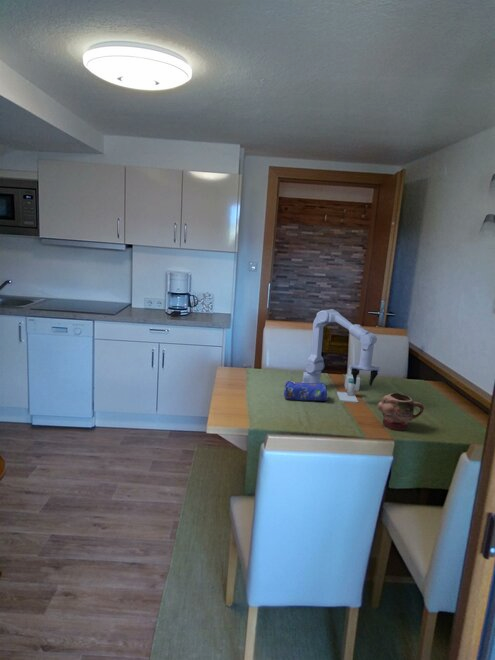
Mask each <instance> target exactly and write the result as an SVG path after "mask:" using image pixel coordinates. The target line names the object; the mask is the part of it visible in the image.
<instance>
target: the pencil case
mask: <svg viewBox="0 0 495 660" xmlns="http://www.w3.org/2000/svg"><path fill="white" fill-rule="evenodd" d="M283 397H285V398H286V399H285V398H284V399H285V400H292V399H293V400H294V401H309V402H310V401H315V402H317V401H319V402H326V401H327V398H328V391H327V385H326V384H325V383H324V382H320V383H302V382H296V381H292V380H288V381H286V383H285V385H284V389H283Z"/></svg>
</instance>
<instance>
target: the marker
mask: <svg viewBox="0 0 495 660" xmlns="http://www.w3.org/2000/svg"><path fill="white" fill-rule="evenodd" d="M354 388H355V384H354V379H351V378H350V379H349V381H348V390H346V391H347V395H348V396H354V394H355V391H354Z"/></svg>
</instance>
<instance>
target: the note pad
mask: <svg viewBox="0 0 495 660" xmlns="http://www.w3.org/2000/svg"><path fill="white" fill-rule="evenodd" d="M336 395H337V397H338V399H339V401H340V402H345V403H346V402H347V403H357V404H358V403H359V400H358V397H356V395H355V393H354V396H348V395H347V392H346V391H338V390H337V391H336Z"/></svg>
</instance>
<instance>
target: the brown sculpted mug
mask: <svg viewBox="0 0 495 660" xmlns="http://www.w3.org/2000/svg"><path fill="white" fill-rule="evenodd" d="M376 405H377V409H378V411H380V412H381V414H382V416H383V419H382V424H383V426H385V428H386V429H389V430H392V431H399V430H402V431H405V430H406V429H407V428H408V427H407V426H408V422H410V421H413V420H415V419H416V418H418V417H420V416H421V415H422V414H423V413H424V410H425V406H424V405H423V404H422V403H421V402H419V401H413V399H412V398H411V397H410V396H408V395H406V394H401V393H399V392H393V393H389V394H386V395H384V396H382V398H381V401H379V402H378V403H377V404H376ZM416 407H417V408H419V409H420V411H419V412H418V413H417V414H415V413H414V411H415V410H414V409H415V408H416Z"/></svg>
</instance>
